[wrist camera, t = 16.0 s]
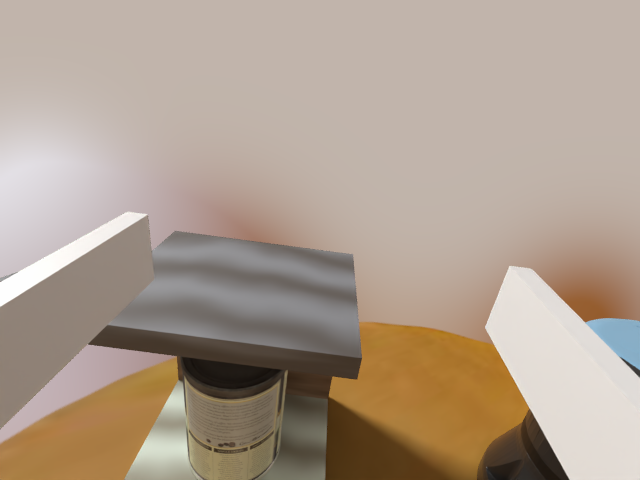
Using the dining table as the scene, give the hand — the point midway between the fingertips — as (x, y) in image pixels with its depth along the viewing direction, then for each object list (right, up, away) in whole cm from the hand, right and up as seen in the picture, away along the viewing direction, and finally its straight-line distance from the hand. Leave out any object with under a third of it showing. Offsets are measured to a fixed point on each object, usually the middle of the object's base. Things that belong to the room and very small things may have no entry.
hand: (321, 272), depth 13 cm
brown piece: (-9, -22, +27) cm, 36 cm away
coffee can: (-10, -22, +26) cm, 35 cm away
